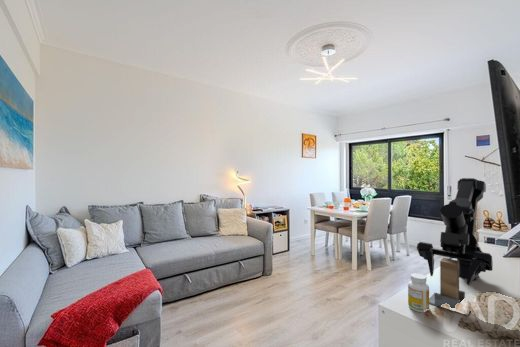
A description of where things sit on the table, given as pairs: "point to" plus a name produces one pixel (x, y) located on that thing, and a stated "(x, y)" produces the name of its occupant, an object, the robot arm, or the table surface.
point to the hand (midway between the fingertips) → (448, 280)
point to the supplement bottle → (418, 293)
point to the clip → (446, 299)
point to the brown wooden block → (449, 277)
